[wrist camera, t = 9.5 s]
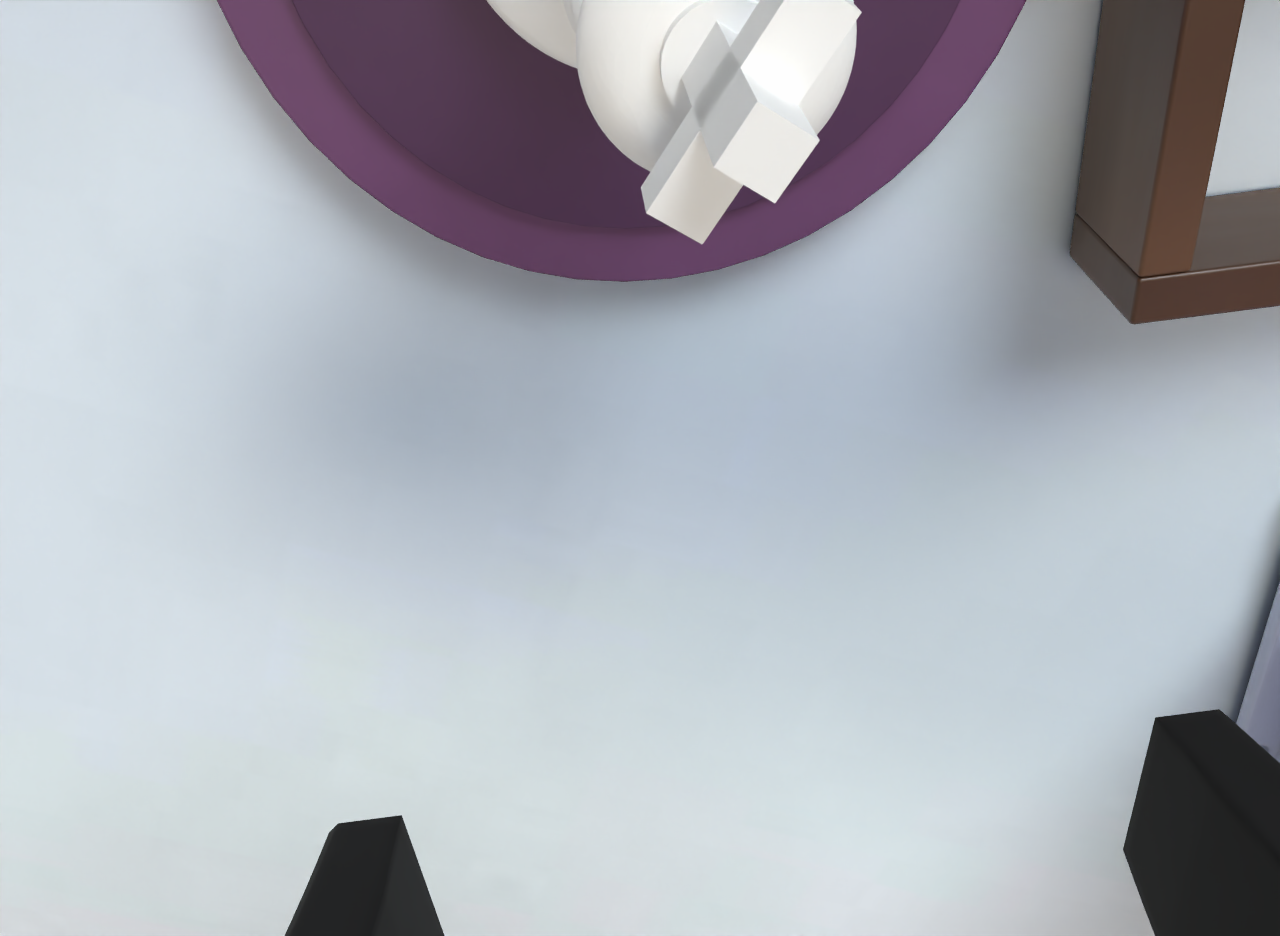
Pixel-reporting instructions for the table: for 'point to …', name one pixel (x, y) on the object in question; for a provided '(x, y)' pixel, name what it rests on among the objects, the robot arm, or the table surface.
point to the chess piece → (701, 88)
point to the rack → (1168, 170)
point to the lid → (582, 128)
